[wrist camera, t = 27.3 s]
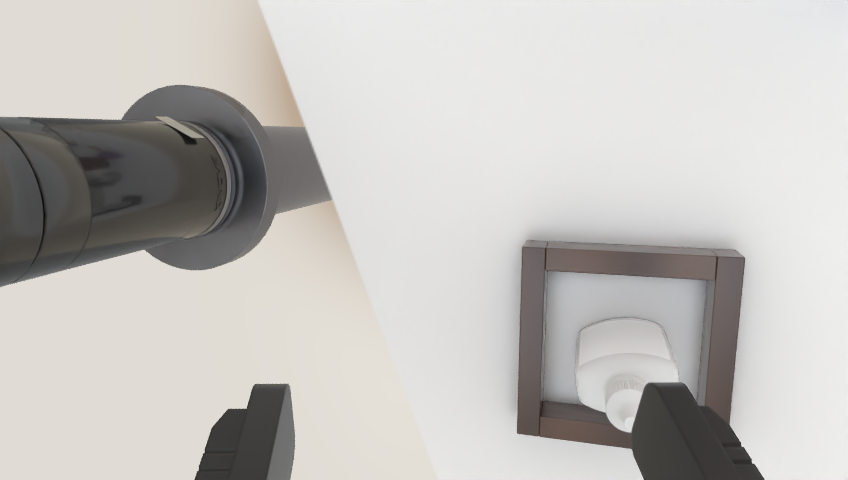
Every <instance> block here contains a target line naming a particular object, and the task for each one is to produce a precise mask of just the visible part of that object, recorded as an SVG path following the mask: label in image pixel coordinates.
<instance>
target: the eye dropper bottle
mask: <svg viewBox="0 0 848 480" xmlns="http://www.w3.org/2000/svg"><path fill="white" fill-rule="evenodd" d="M575 380H576V387H577V393H578V397H579V399H580V401H581V402H582V403H583V404H584V405H586V406H588V407H590V408H593V409H595V410H598V411H602V412H605V413H606V415H607V417H608V419H609V421H610V422H611V423H612V424H613V425H614V427H616V428H618V429H619V430H621V431H625V432H631V431H632V427H633V423H634V420H635V417H636V413H637V410H638V406H639V403H640V400H641V396H642V393H643V390H644V387H645V385H646V384H647V383H650V382H680V380H679V373H678V368H677V364H676V361H675V358H674V355H673V353H672V350H671V347H670V344H669V341H668V339H667V336H666V333H665V331H664V329H663V327H662V326H660V325H659V324H657V323H654V322H651V321H647V320H642V319H635V318H615V319H609V320H604V321H601V322H598V323H595V324H592V325H590V326H588V327H586V328H584V329H583V330H581V331H580V332H579V334H578V337H577V347H576V361H575Z"/></svg>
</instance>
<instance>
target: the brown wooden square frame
mask: <svg viewBox="0 0 848 480" xmlns="http://www.w3.org/2000/svg"><path fill="white" fill-rule="evenodd" d="M744 265H745V257H743V256H742V255H741V254H740V253H738V252H737V251H736V250H726V249H705V248H683V247H661V246H640V245H618V244H596V243H574V242H553V241H549V242H548V241H531V240H527V241H526V242H525V244H524V245H523V247H522V275H521V310H520V345H519V380H518V415H517V433H518V434H524V435H532V436H540V437H546V438H554V439H562V440H569V441H577V442H584V443H592V444H599V445H607V446H615V447H622V448H630V449H632V445H631V432H625V431H621V430H619V429H618V428H616V427H614V425H613V424H612V423H611V422H610V421H609V419H608V417H607V415H606V413H605V412H602V411H598V410H595V409H593V408H590V407H588V406H584V405H575V404H567V403H558V402H549V401H543V381H544V353H545V326H546V298H547V271H561V272H578V273H595V274H612V275H629V276H646V277H663V278H680V279H697V280H707V289H706V301H705V313H704V324H703V336H702V348H701V360H700V372H699V383H698V395H697V404H698V406H709V407H710V408H711V409H712V410H714V411H715V412H716V413H717V414H718V415H719V416H720V417H722V418H723V419H724V420H725V421H726V422H727V423H728V424H729V422H730V411H731V401H732V390H733V380H734V370H735V359H736V349H737V338H738V328H739V317H740V307H741V296H742V286H743V275H744Z"/></svg>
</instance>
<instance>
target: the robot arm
mask: <svg viewBox="0 0 848 480" xmlns="http://www.w3.org/2000/svg"><path fill="white" fill-rule="evenodd" d="M155 117H156V118H158V119H160V120H162V121H163V122H161V121H136V120H102V119H68V118H34V117H31V118H30V117H0V287H2V286H5V285H9V284H13V283H17V282H21V281H25V280H28V279H33V278H36V277H40V276H44V275H48V274H51V273H55V272H58V271H62V270H66V269H70V268H74V267H78V266H82V265H86V264H90V263H94V262H98V261H101V260H105V259H109V258H113V257H117V256H121V255H125V254H128V253H132V252H136V251H140V250H144V249H148V248H152V247H156V246H160V245H164V244H168V243H172V242H176V241H180V240H186V239H193V238H197V237H200V236H204V235H206V234H209V233H211V232H212V231H214V230H215V229H216V228H218V227H219V226H220V225H221V224H222V223H223V222H224V220H225V219H226V217H227V216H228V214H229V212H230V210H231V207H232V205H233V201H234V197H235V188H236V185H235V173H234V169H233V165H232V162H231V159H230V157H229V155H228V153H227V151H226V149H225V147H224V146H223V145H222V143H221V142H220V141H219V139H218V138H217V137H216V136H215V135H214V134H212V133H211V132H210V131H209V130H207V129H206V128H204V127H202V126H200V125H198V124H196V123H192V122H188V121H174V120H173V119H171V118H169V117H158V116H155ZM631 445H632V451H633V455H634V458H635V460H636V462H637V465H638V467H639V469H640V471H641V474H642V476H643V478H644V480H764V478H763V477H762V475H761V473H760V472H759V470H758V469H757V467H756V466H755V464H752V459H751V458H750V456H749V455H748V453H747V452H746V450H745V449H744V447H741V442H740V441H739V439H738V438H737V436H736V435H735V433H734V431H733V430H732V428H731V427H730V425H729V424H728V423H727V422H726V421H725V420H724V419H723V418H722V417H720V416H719V415H718V414H717V413H716V412H715V411H714V410H712V409H711V408H710V407H709V406H698V404H697V402H696V401H695V399H694V397H693V396H692V394H691V393H690V391H689V389H688V388H687V386H686V385H685V384H683V383H681V382H650V383H647V384H646V385H645V387H644V390H643V393H642V396H641V400H640V403H639V406H638V410H637V413H636V417H635V420H634V423H633V427H632V431H631ZM294 449H295V432H294V421H293V411H292V401H291V391H290V386H289V384H255V385H254V386H253V389H252V392H251V395H250V399H249V402H248V406H247V409H228V410H227V411H226V412H225V413H224V414H223V416H222V417H221V418H220V419H219V420H218V422H217V423H216V424H215V425H214V426H213V427H212V429H211V432H210V435H209V439H208V441H207V444H206V447H205V453H204V454H203V457H202V459H201V462H200V465H199V471H197V474H196V477H195V480H290V477H291V471H292V466H293V460H294Z"/></svg>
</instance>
